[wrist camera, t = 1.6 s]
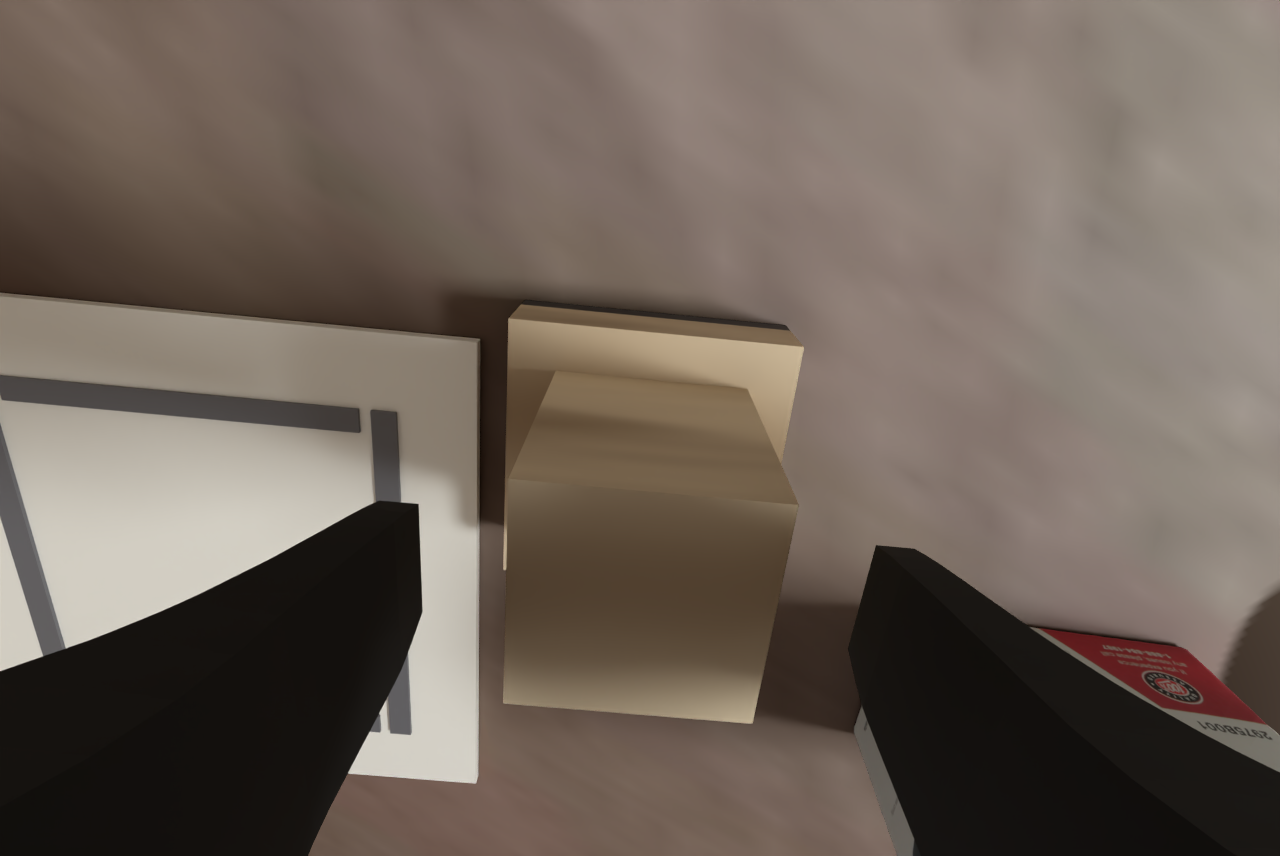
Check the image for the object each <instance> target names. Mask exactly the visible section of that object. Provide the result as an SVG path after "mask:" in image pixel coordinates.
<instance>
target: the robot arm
mask: <svg viewBox="0 0 1280 856" xmlns="http://www.w3.org/2000/svg"><path fill="white" fill-rule="evenodd" d="M422 612H423V610H422V582H421V555H420V527H419V504H414V503H403V502H392V501H381V500H379V501H377V502H375V503H373V504H370V505H368V506H366V507H364V508H362V509H360V510H358V511H356V512H355V513H353V514H351V515H349V516H347V517H345V518H343V519H342V520H340V521H338V522H336V523H334V524H333V525H331V526H329V527H327V528H325V529H324V530H322V531H320V532H318V533H316V534H315V535H313V536H311V537H309V538H307V539H305V540H304V541H302V542H300V543H298V544H296V545H294V546H293V547H291V548H289V549H287V550H285V551H283V552H282V553H280V554H278V555H276V556H274V557H272V558H271V559H269V560H267V561H265V562H263V563H261V564H259V565H257V566H255V567H253V568H251V569H249V570H247V571H245V572H243V573H241V574H239V575H237V576H235V577H233V578H231V579H229V580H227V581H225V582H223V583H221V584H219V585H217V586H215V587H213V588H211V589H208V590H206V591H204V592H202V593H200V594H198V595H196V596H194V597H192V598H190V599H187V600H185V601H183V602H181V603H179V604H176V605H174V606H172V607H170V608H167V609H165V610H163V611H160V612H158V613H156V614H153V615H151V616H148V617H146V618H144V619H141V620H139V621H136V622H134V623H131V624H129V625H126V626H124V627H122V628H119V629H117V630H114V631H112V632H109V633H107V634H104V635H101V636H99V637H96V638H94V639H91V640H88V641H86V642H83V643H80V644H77V645H74V646H71V647H68V648H65V649H63V650H60V651H57V652H54V653H51V654H48V655H45V656H42V657H40V658H37V659H34V660H31V661H28V662H25V663H22V664H19V665H16V666H14V667H11V668H8V669H5V670H2V671H0V856H308V854H309V852H310V849H311V847H312V845H313V842H314V840H315V838H316V836H317V834H318V832H319V829H320V827H321V825H322V823H323V821H324V819H325V817H326V815H327V813H328V810H329V808H330V806H331V804H332V802H333V801H334V799H335V797H336V795H337V793H338V791H339V789H340V787H341V785H342V783H343V782H344V780H345V778H346V776H347V774H348V772H349V770H350V768H351V766H352V764H353V762H354V761H355V759H356V757H357V755H358V753H359V751H360V749H361V747H362V745H363V743H364V741H365V740H366V738H367V736H368V734H369V732H370V730H371V728H372V726H373V724H374V722H375V721H376V719H377V717H378V715H379V713H380V711H381V709H382V707H383V705H384V703H385V701H386V699H387V697H388V695H389V693H390V691H391V690H392V688H393V686H394V684H395V682H396V680H397V678H398V676H399V674H400V672H401V670H402V667H403V665H404V662H405V659H406V657H407V654H408V651H409V649H410V646H411V644H412V641H413V638H414V635H415V632H416V629H417V626H418V624H419V621H420V618H421V615H422ZM848 651H849V655H850V660H851V664H852V668H853V673H854V677H855V681H856V685H857V689H858V693H859V696H860V700H861V704H862V708H863V711H864V713H865V716H866V719H867V721H868V724H869V727H870V729H871V732H872V734H873V737H874V739H875V742H876V745H877V747H878V750H879V752H880V755H881V757H882V760H883V762H884V765H885V767H886V770H887V772H888V775H889V777H890V780H891V782H892V785H893V787H894V790H895V792H896V795H897V797H898V800H899V802H900V805H901V807H902V810H903V812H904V815H905V817H906V820H907V822H908V825H909V827H910V830H911V832H912V835H913V837H914V840H915V842H916V845H917V847H918V850H919V852H920V855H921V856H1280V772H1278V771H1276V770H1274V769H1272V768H1270V767H1268V766H1266V765H1264V764H1262V763H1260V762H1258V761H1256V760H1254V759H1252V758H1250V757H1248V756H1246V755H1244V754H1242V753H1240V752H1238V751H1236V750H1234V749H1232V748H1230V747H1228V746H1226V745H1224V744H1222V743H1220V742H1219V741H1217V740H1215V739H1213V738H1211V737H1209V736H1207V735H1205V734H1203V733H1202V732H1200V731H1198V730H1196V729H1194V728H1192V727H1191V726H1189V725H1187V724H1185V723H1184V722H1182V721H1180V720H1178V719H1177V718H1175V717H1173V716H1171V715H1169V714H1168V713H1166V712H1164V711H1162V710H1161V709H1159V708H1157V707H1155V706H1153V705H1152V704H1150V703H1148V702H1146V701H1145V700H1143V699H1141V698H1139V697H1138V696H1136V695H1134V694H1133V693H1131V692H1129V691H1128V690H1126V689H1124V688H1123V687H1121V686H1119V685H1118V684H1116V683H1114V682H1113V681H1111V680H1109V679H1108V678H1106V677H1105V676H1103V675H1102V674H1100V673H1098V672H1097V671H1095V670H1094V669H1092V668H1091V667H1089V666H1087V665H1086V664H1084V663H1083V662H1081V661H1080V660H1078V659H1077V658H1075V657H1073V656H1072V655H1070V654H1069V653H1067V652H1066V651H1064V650H1062V649H1061V648H1060V647H1058V646H1057V645H1055V644H1054V643H1052V642H1051V641H1049V640H1048V639H1046V638H1045V637H1043V636H1042V635H1040V634H1039V633H1037V632H1036V631H1034V630H1033V629H1031V628H1030V627H1029V626H1027V625H1026V624H1024V623H1023V622H1021V621H1020V620H1018V619H1017V618H1016V617H1014V616H1013V615H1011V614H1010V613H1008V612H1007V611H1006V610H1004V609H1003V608H1001V607H1000V606H998V605H997V604H996V603H994V602H993V601H991V600H990V599H989V598H987V597H986V596H984V595H983V594H982V593H980V592H979V591H977V590H976V589H975V588H973V587H972V586H970V585H969V584H967V583H966V582H965V581H963V580H962V579H960V578H959V577H958V576H956V575H955V574H953V573H952V572H950V571H949V570H947V569H946V568H945V567H943V566H942V565H940V564H939V563H937V562H936V561H934V560H932V559H931V558H929V557H928V556H926V555H924V554H923V553H921V552H919V551H917V550H916V549H911V548H900V547H889V546H878V545H876V548H875V551H874V555H873V559H872V562H871V566H870V570H869V573H868V577H867V581H866V584H865V588H864V592H863V595H862V599H861V603H860V607H859V610H858V614H857V618H856V621H855V625H854V629H853V632H852V636H851V640H850V643H849V647H848Z"/></svg>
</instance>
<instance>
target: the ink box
mask: <svg viewBox="0 0 1280 856" xmlns="http://www.w3.org/2000/svg"><path fill="white" fill-rule="evenodd" d="M1030 628H1031V629H1033V630H1034V631H1036V632H1037V633H1039V634H1040V635H1042V636H1043V637H1045V638H1046V639H1048V640H1049V641H1051V642H1052V643H1054V644H1055V645H1057V646H1058V647H1060V648H1061V649H1062V650H1064V651H1066V652H1067V653H1069V654H1070V655H1072V656H1073V657H1075V658H1077V659H1078V660H1080V661H1081V662H1083V663H1084V664H1086V665H1087V666H1089V667H1091V668H1092V669H1094V670H1095V671H1097V672H1098V673H1100V674H1102V675H1103V676H1105V677H1106V678H1108V679H1109V680H1111V681H1113V682H1114V683H1116V684H1118V685H1119V686H1121V687H1123V688H1124V689H1126V690H1128V691H1129V692H1131V693H1133V694H1134V695H1136V696H1138V697H1139V698H1141V699H1143V700H1145V701H1146V702H1148V703H1150V704H1152V705H1153V706H1155V707H1157V708H1159V709H1161V710H1162V711H1164V712H1166V713H1168V714H1169V715H1171V716H1173V717H1175V718H1177V719H1178V720H1180V721H1182V722H1184V723H1185V724H1187V725H1189V726H1191V727H1192V728H1194V729H1196V730H1198V731H1200V732H1202V733H1203V734H1205V735H1207V736H1209V737H1211V738H1213V739H1215V740H1217V741H1219V742H1220V743H1222V744H1224V745H1226V746H1228V747H1230V748H1232V749H1234V750H1236V751H1238V752H1240V753H1242V754H1244V755H1246V756H1248V757H1250V758H1252V759H1254V760H1256V761H1258V762H1260V763H1262V764H1264V765H1266V766H1268V767H1270V768H1272V769H1274V770H1276V771H1278V772H1280V735H1279V734H1278V733H1277V732H1275V731H1274V730H1273V729H1272V728H1270V727H1269V726H1268V725H1267V724H1266V723H1264V721H1262V720H1261V719H1260V718H1259V717H1258V716H1257V715H1256V714H1255V713H1254V712H1253V711H1252V710H1251V709H1250V708H1249V707H1248V706H1247V705H1246V704H1244V703H1243V702H1242V701H1241V700H1240V699H1239V698H1238V697H1237V696H1236V695H1235V694H1234V693H1233V692H1232V691H1231V690H1230V689H1228V688H1227V687H1226V686H1225V685H1224V684H1223V683H1222V682H1221V681H1220V680H1219V679H1218V678H1217V677H1216V676H1215V675H1214V674H1213V673H1212V672H1211V671H1209V670H1208V669H1207V668H1206V667H1205V666H1204V665H1203V664H1202V663H1201V662H1199V661H1198V660H1197V659H1196V658H1195V657H1194V656H1193V655H1192V654H1191V653H1190V652H1189V651H1188V650H1186V649H1184V648H1182V647H1174V646H1169V645H1159V644H1154V643H1145V642H1140V641H1130V640H1124V639H1117V638H1108V637H1101V636H1095V635H1085V634H1077V633H1071V632H1063V631H1056V630H1050V629H1041V628H1033V627H1030ZM854 734H855V737H856V740H857V743H858V746H859V748H860V751H861V754H862V757H863V760H864V763H865V765H866V768H867V771H868V774H869V777H870V780H871V782H872V785H873V788H874V791H875V794H876V797H877V800H878V803H879V806H880V809H881V812H882V814H883V817H884V820H885V822H886V825H887V829H888V832H889V834H890V837H891V839H892V842H893V845H894V848H895V851H896V853H897V856H921V855H920V852H919V850H918V847H917V845H916V842H915V840H914V837H913V835H912V832H911V830H910V827H909V825H908V822H907V820H906V817H905V815H904V812H903V810H902V807H901V805H900V802H899V800H898V797H897V795H896V792H895V790H894V787H893V785H892V782H891V780H890V777H889V775H888V772H887V770H886V767H885V765H884V762H883V760H882V757H881V755H880V752H879V750H878V747H877V745H876V742H875V739H874V737H873V734H872V732H871V729H870V727H869V724H868V721H867V719H866V716H865V713H864V711H863V708H862V706H861V709H860V712H859V715H858V718H857V721H856V724H855V726H854Z"/></svg>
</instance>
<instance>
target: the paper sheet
mask: <svg viewBox="0 0 1280 856" xmlns="http://www.w3.org/2000/svg"><path fill="white" fill-rule="evenodd" d="M379 500H381V501H392V502H403V503H414V504H419V527H420V555H421V582H422V610H423V612H422V615H421V618H420V621H419V624H418V626H417V629H416V632H415V635H414V638H413V641H412V644H411V646H410V649H409V651H408V654H407V657H406V659H405V662H404V665H403V667H402V670H401V672H400V674H399V676H398V678H397V680H396V682H395V684H394V686H393V688H392V690H391V691H390V693H389V695H388V697H387V699H386V701H385V703H384V705H383V707H382V709H381V711H380V713H379V715H378V717H377V719H376V721H375V722H374V724H373V726H372V728H371V730H370V732H369V734H368V736H367V738H366V740H365V741H364V743H363V745H362V747H361V749H360V751H359V753H358V755H357V757H356V759H355V761H354V762H353V764H352V766H351V768H350V770H349V772H348V773H349V774H362V775H374V776H387V777H400V778H413V779H425V780H438V781H451V782H463V783H476V781H477V778H478V722H479V517H480V339H477V338H466V337H456V336H446V335H435V334H425V333H414V332H404V331H394V330H383V329H373V328H362V327H352V326H342V325H331V324H321V323H311V322H300V321H290V320H279V319H269V318H259V317H248V316H238V315H227V314H217V313H207V312H196V311H186V310H176V309H165V308H155V307H144V306H134V305H124V304H113V303H103V302H92V301H82V300H72V299H61V298H51V297H41V296H30V295H20V294H9V293H0V671H2V670H5V669H8V668H11V667H14V666H16V665H19V664H22V663H25V662H28V661H31V660H34V659H37V658H40V657H42V656H45V655H48V654H51V653H54V652H57V651H60V650H63V649H65V648H68V647H71V646H74V645H77V644H80V643H83V642H86V641H88V640H91V639H94V638H96V637H99V636H101V635H104V634H107V633H109V632H112V631H114V630H117V629H119V628H122V627H124V626H126V625H129V624H131V623H134V622H136V621H139V620H141V619H144V618H146V617H148V616H151V615H153V614H156V613H158V612H160V611H163V610H165V609H167V608H170V607H172V606H174V605H176V604H179V603H181V602H183V601H185V600H187V599H190V598H192V597H194V596H196V595H198V594H200V593H202V592H204V591H206V590H208V589H211V588H213V587H215V586H217V585H219V584H221V583H223V582H225V581H227V580H229V579H231V578H233V577H235V576H237V575H239V574H241V573H243V572H245V571H247V570H249V569H251V568H253V567H255V566H257V565H259V564H261V563H263V562H265V561H267V560H269V559H271V558H272V557H274V556H276V555H278V554H280V553H282V552H283V551H285V550H287V549H289V548H291V547H293V546H294V545H296V544H298V543H300V542H302V541H304V540H305V539H307V538H309V537H311V536H313V535H315V534H316V533H318V532H320V531H322V530H324V529H325V528H327V527H329V526H331V525H333V524H334V523H336V522H338V521H340V520H342V519H343V518H345V517H347V516H349V515H351V514H353V513H355V512H356V511H358V510H360V509H362V508H364V507H366V506H368V505H370V504H373V503H375V502H377V501H379Z"/></svg>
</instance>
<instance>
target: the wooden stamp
mask: <svg viewBox="0 0 1280 856" xmlns="http://www.w3.org/2000/svg"><path fill="white" fill-rule="evenodd" d="M803 350H804V346H803V345H802V344H801V343H800V342H799V341H798V339H797V338H796V337H795V336H794V335H793V333H792V332H791V331H790V330H789V329H788V328H787V326H786V325H777V324H767V323H757V322H746V321H736V320H726V319H716V318H705V317H695V316H685V315H675V314H665V313H654V312H644V311H634V310H624V309H613V308H603V307H593V306H583V305H573V304H562V303H552V302H542V301H532V300H524V302H523V303H522V304H521V305H520V306H519V307H518V308H517V309H516V311H515V312H514V313H513V314H512V315H511V316H510V317H509V318H508V366H507V414H506V461H505V509H504V557H503V570H506V602H505V646H504V690H503V704H516V705H528V706H540V707H552V708H565V709H577V710H589V711H602V712H614V713H626V714H638V715H651V716H663V717H675V718H687V719H700V720H712V721H724V722H736V723H749V724H752V723H753V719H754V714H755V709H756V705H757V700H758V695H759V691H760V686H761V681H762V676H763V672H764V667H765V662H766V658H767V653H768V648H769V643H770V639H771V634H772V629H773V625H774V620H775V615H776V610H777V606H778V601H779V596H780V592H781V587H782V582H783V577H784V573H785V568H786V563H787V559H788V554H789V549H790V544H791V540H792V535H793V530H794V526H795V521H796V516H797V512H798V507H799V504H798V502H797V500H796V497H795V495H794V493H793V491H792V488H791V486H790V484H789V482H788V479H787V477H786V475H785V473H784V470H783V468H782V466H781V462H782V457H783V452H784V447H785V442H786V437H787V432H788V426H789V421H790V416H791V411H792V406H793V401H794V396H795V391H796V386H797V380H798V375H799V370H800V365H801V360H802V355H803Z"/></svg>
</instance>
